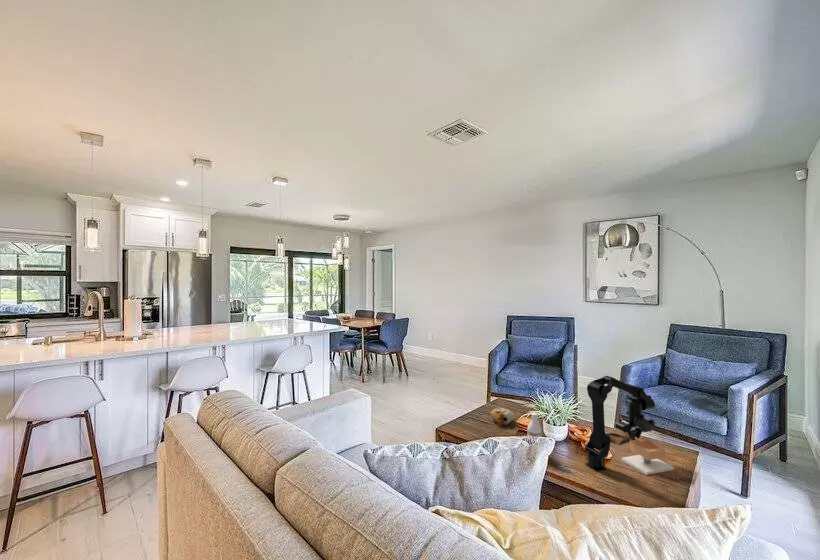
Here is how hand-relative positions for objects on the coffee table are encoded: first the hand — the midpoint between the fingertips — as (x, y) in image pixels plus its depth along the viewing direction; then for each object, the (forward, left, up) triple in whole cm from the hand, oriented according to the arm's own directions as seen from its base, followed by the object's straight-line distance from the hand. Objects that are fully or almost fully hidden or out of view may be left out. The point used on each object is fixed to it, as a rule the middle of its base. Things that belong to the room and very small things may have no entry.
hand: (634, 442), depth 185 cm
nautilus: (-42, +57, -8) cm, 72 cm away
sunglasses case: (+11, +20, -8) cm, 24 cm away
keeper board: (0, -7, -8) cm, 10 cm away
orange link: (0, -5, -2) cm, 5 cm away
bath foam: (-45, +18, -8) cm, 49 cm away
